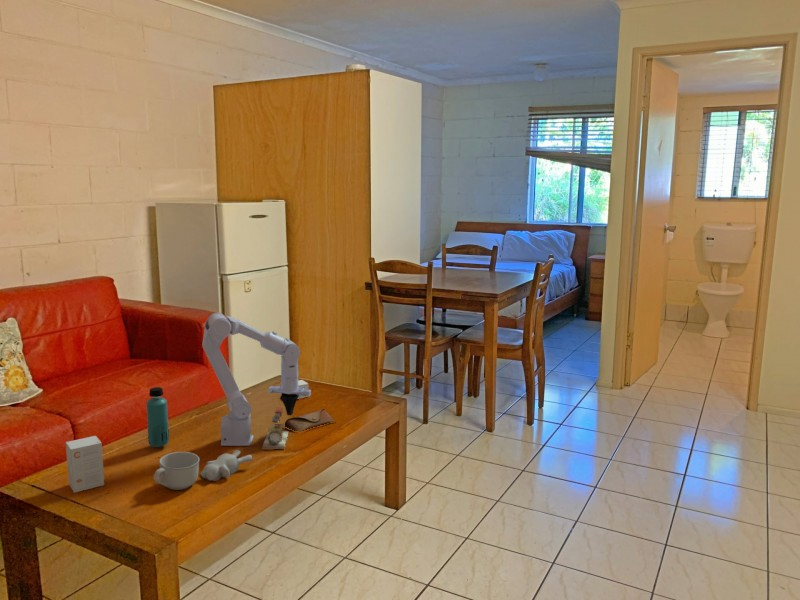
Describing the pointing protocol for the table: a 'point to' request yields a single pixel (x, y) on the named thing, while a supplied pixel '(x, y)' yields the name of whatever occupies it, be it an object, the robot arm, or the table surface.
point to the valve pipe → (275, 433)
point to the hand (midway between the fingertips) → (290, 414)
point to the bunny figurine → (224, 466)
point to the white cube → (302, 386)
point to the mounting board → (279, 445)
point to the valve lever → (277, 415)
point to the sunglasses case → (308, 420)
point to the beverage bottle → (157, 418)
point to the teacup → (178, 470)
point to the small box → (85, 463)
